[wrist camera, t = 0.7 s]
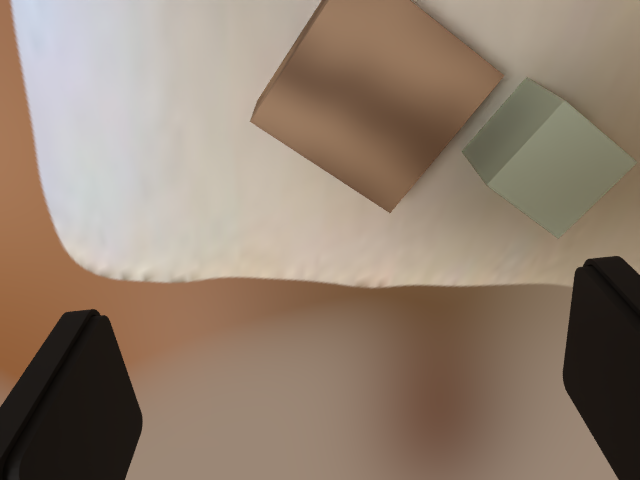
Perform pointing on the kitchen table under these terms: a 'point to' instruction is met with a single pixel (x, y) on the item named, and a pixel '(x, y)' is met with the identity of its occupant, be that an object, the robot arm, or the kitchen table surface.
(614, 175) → the green cube
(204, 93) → the kitchen table surface
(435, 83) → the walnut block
